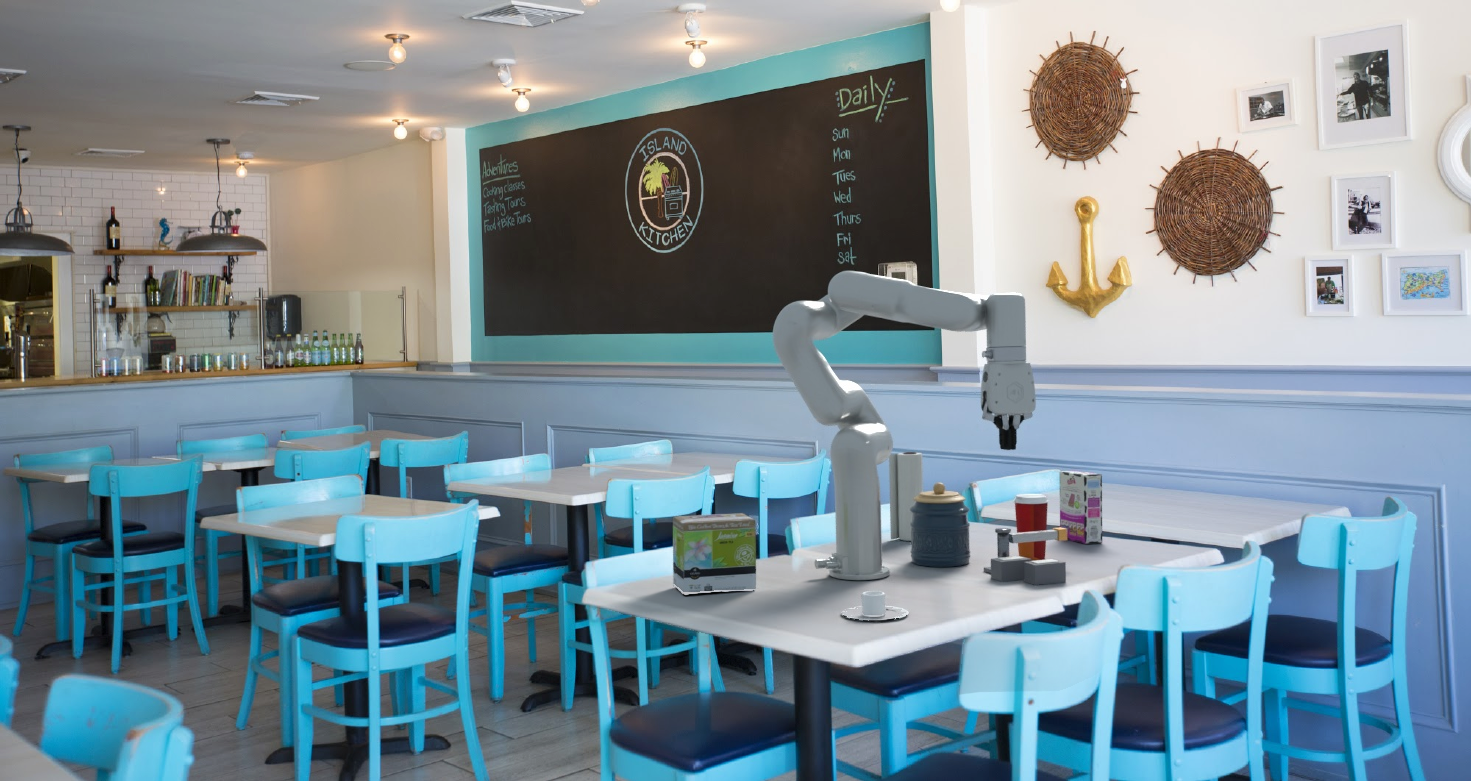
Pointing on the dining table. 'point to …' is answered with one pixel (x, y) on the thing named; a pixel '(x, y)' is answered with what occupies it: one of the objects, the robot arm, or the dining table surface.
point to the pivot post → (1001, 544)
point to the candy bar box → (1081, 506)
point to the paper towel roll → (904, 491)
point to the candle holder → (875, 604)
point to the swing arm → (1039, 535)
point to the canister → (940, 529)
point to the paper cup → (1031, 523)
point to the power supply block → (1045, 571)
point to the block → (1008, 568)
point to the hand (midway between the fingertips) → (1008, 449)
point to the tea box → (714, 552)
